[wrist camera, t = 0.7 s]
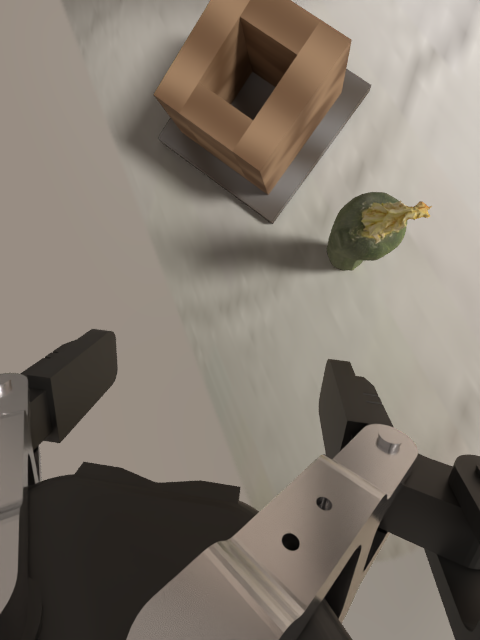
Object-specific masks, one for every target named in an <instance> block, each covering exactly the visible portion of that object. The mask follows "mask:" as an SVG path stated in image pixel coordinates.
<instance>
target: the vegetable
mask: <svg viewBox="0 0 480 640" xmlns="http://www.w3.org/2000/svg"><path fill="white" fill-rule="evenodd" d="M431 207H432V206H431ZM431 207H428V206H427V205H426V204H425V203H423V202H419V203H418V204H417V205H416V206H414V207H408V206H405V205H404V204H403V203H401V201H398V200H397V199H395V198H394V197H392V196H390V195H389V194H387V193H382V192H370V193H365V194H362V195H360V196H357V197H355V198H353V199H352V200H351V201H350V202H348V203H347V204H346V205H345V206H344V207H343V208H342V209H341V210H340V212H339V213H338V215H337V217H336V220H335V222H334V225H333V227H332V230H331V233H330V236H329V241H328V246H327V254H328V257H329V259H330V261H331V263H332V265H333V266H334V267H336V268H338V269H341V270H354V268H356V267H357V266H359V265H360V264H361V263H362V261H363V260H377V259H379V258H381V257H383V256H384V255H386V254H388V253H390V252H391V251H392V250H394V249H395V248H396V247H398V245H399V244H400V243H401V241H402V239H403V238H404V235H405V232H406V226H407V220H408V219H414V220H415V219H417V218H421V217H425V218H426V217H427V218H428V217H430V215H429V214H428V211H427V210H428V209H430V208H431Z"/></svg>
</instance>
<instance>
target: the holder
mask: <svg viewBox="0 0 480 640" xmlns="http://www.w3.org/2000/svg"><path fill="white" fill-rule="evenodd" d="M350 46H351V39H349V38H348V37H346V36H345V35H343V34H342V33H340V32H339V31H337V30H336V29H334V28H332V27H331V26H329V25H328V24H326V23H325V22H323V21H322V20H320V19H319V18H317V17H315V16H314V15H312V14H311V13H309V12H308V11H306V10H305V9H303V8H302V7H300V6H298V5H297V4H295V3H294V2H292V1H291V0H210V2H209V4H208V5H207V7H206V9H205V10H204V12H203V13H202V15H201V17H200V18H199V20H198V22H197V23H196V25H195V27H194V28H193V30H192V32H191V33H190V35H189V37H188V38H187V40H186V42H185V43H184V45H183V47H182V48H181V50H180V51H179V53H178V55H177V56H176V58H175V60H174V61H173V63H172V65H171V66H170V68H169V70H168V71H167V73H166V75H165V76H164V78H163V80H162V81H161V83H160V85H159V86H158V88H157V90H156V91H155V93H154V94H153V95H154V96H155V97H156V99H157V100H158V101H159V103H160V104H161V105H162V107H163V108H164V109H165V111H166V112H167V113H168V115H169V116H170V117H171V118H170V119H169V121H168V123H167V124H166V126H165V127H164V129H163V131H162V132H161V134H160V135H159V137H158V139H159V140H160V141H161V142H162V143H164V144H165V145H166V146H168V147H169V148H170V149H172V150H173V151H174V152H176V153H177V154H178V155H180V156H181V157H183V158H184V159H185V160H187V161H188V162H189V163H191V164H192V165H193V166H195V167H196V168H197V169H199V170H200V171H202V172H203V173H204V174H206V175H207V176H208V177H210V178H211V179H212V180H214V181H215V182H216V183H218V184H219V185H221V186H222V187H223V188H225V189H226V190H227V191H229V192H230V193H231V194H233V195H234V196H235V197H237V198H238V199H240V200H241V201H242V202H244V203H245V204H246V205H248V206H249V207H250V208H252V209H253V210H254V211H256V212H257V213H259V214H260V215H261V216H263V217H264V218H265V219H267V220H268V221H269V222H271V223H272V224H273V223H274V221H275V220H276V219H277V217H278V216H279V214H280V213H281V212H282V210H283V209H284V208H285V206H286V205H287V203H288V202H289V201H290V199H291V198H292V197H293V195H294V194H295V193H296V191H297V190H298V188H299V187H300V186H301V184H302V183H303V182H304V180H305V179H306V177H307V176H308V175H309V173H310V172H311V171H312V169H313V168H314V166H315V165H316V164H317V162H318V161H319V160H320V158H321V157H322V156H323V154H324V153H325V151H326V150H327V149H328V147H329V146H330V145H331V143H332V142H333V140H334V139H335V138H336V136H337V135H338V134H339V132H340V131H341V129H342V128H343V127H344V125H345V124H346V123H347V121H348V120H349V119H350V117H351V116H352V114H353V113H354V112H355V110H356V109H357V108H358V106H359V105H360V103H361V102H362V101H363V99H364V98H365V97H366V95H367V94H368V92H369V91H370V88H371V85H370V84H369V83H367V82H366V81H364V80H363V79H361V78H360V77H358V76H357V75H355V74H354V73H352V72H351V71H349V70H347V69H346V67H347V61H348V56H349V51H350Z"/></svg>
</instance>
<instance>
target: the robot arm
mask: <svg viewBox="0 0 480 640" xmlns="http://www.w3.org/2000/svg"><path fill="white" fill-rule="evenodd" d="M116 375H117V353H116V337H115V334H114V332H112V331H105V330H97V329H92V330H90V331H88V332H87V333H85V334H84V335H83V336H81V337H80V338H78V339H77V340H75V341H71V342H69V343H66V344H64V345H62V346H60V347H59V348H57V349H56V350H54V351H53V353H50V354H48V355H47V356H46V357H45V358H43V359H41V360H40V361H38V362H37V363H35V364H34V365H32V366H31V367H29V368H28V369H27V370H25V371H24V372H22V373H21V374H18V373H4V374H0V640H352V638H351V637H350V635H349V634H348V633H347V632H346V630H345V628H344V627H343V625H342V622H343V620H344V618H345V617H346V615H347V613H348V610H349V608H350V606H351V604H352V602H353V600H354V597H355V595H356V593H357V591H358V589H359V587H360V584H361V583H362V581H363V579H364V578H365V576H366V574H367V572H368V571H369V569H370V567H371V565H372V564H373V562H374V560H375V559H376V557H377V555H378V553H379V552H380V550H381V548H382V547H383V545H384V543H385V541H386V540H387V538H388V536H389V535H390V533H392V534H394V535H396V536H398V537H401V538H403V539H405V540H407V541H409V542H412V543H414V544H416V545H418V546H420V547H423V548H424V550H425V553H426V555H427V558H428V561H429V564H430V567H431V570H432V573H433V576H434V579H435V582H436V585H437V588H438V591H439V593H440V596H441V599H442V602H443V605H444V608H445V611H446V614H447V617H448V620H449V622H450V626H451V628H452V631H453V634H454V637H455V640H480V456H476V455H461V456H459V457H458V458H457V459H456V461H455V463H454V465H453V467H452V466H449V465H446V464H444V463H441V462H438V461H435V460H432V459H430V458H427V457H425V456H422V455H420V454H418V448H417V446H416V444H415V442H414V441H413V440H412V439H411V438H410V437H409V436H408V435H406V434H405V433H403V432H402V431H400V430H398V429H396V428H394V427H393V425H392V423H391V421H390V419H389V417H388V415H387V413H386V411H385V408H384V406H383V405H382V402H381V400H380V398H379V397H378V394H377V392H376V390H375V388H374V386H373V385H372V384H371V383H370V382H369V381H368V380H366V379H365V378H364V377H359V376H355V373H354V371H353V368H352V366H351V363H350V362H348V361H340V360H332V359H328V361H327V363H326V367H325V372H324V377H323V383H322V388H321V393H320V398H319V416H320V422H321V428H322V434H323V440H324V446H325V452H326V455H325V454H323V455H321V456H319V457H318V458H317V459H316V460H315V461H313V462H312V463H311V464H310V465H309V466H308V467H307V468H306V469H305V470H304V471H303V472H302V473H301V474H300V475H298V476H297V477H296V478H295V479H294V480H293V481H292V482H291V483H290V484H289V485H288V486H287V487H286V488H284V489H283V490H282V491H281V492H280V493H279V494H278V495H277V496H276V497H275V498H274V499H273V500H272V501H271V502H269V503H268V504H267V505H266V506H265V507H264V508H263V509H262V510H261V511H260V512H259V511H257V510H256V509H255V508H253V507H251V506H249V505H248V504H246V503H243V502H241V501H239V493H240V487H237V486H231V485H224V484H218V483H212V482H206V481H186V482H185V481H184V482H166V483H157V482H153V481H151V480H148V479H146V478H143V477H141V476H139V475H137V474H134V473H132V472H130V471H127V470H125V469H123V468H119V467H113V466H107V465H100V464H94V463H88V462H83V464H82V465H81V466H80V468H79V469H78V470H77V472H76V473H75V474H74V475H65V476H59V477H55V478H51V479H47V480H44V481H42V479H41V478H42V477H41V455H40V448H39V444H40V443H41V442H42V441H49V442H56V443H60V442H61V441H62V440H63V439H64V438H65V437H66V436H67V435H68V434H69V432H70V431H71V430H72V429H73V428H74V427H75V426H76V425H77V423H78V422H79V421H80V420H81V419H82V418H83V417H84V416H85V415H86V413H87V412H88V411H89V410H90V409H91V408H92V407H93V406H94V404H95V403H96V402H97V401H98V400H99V399H100V398H101V397H102V396H103V394H104V393H105V392H106V391H107V390H108V389H109V388H110V387H111V386H112V384H113V383H114V381H115V379H116Z"/></svg>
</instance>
